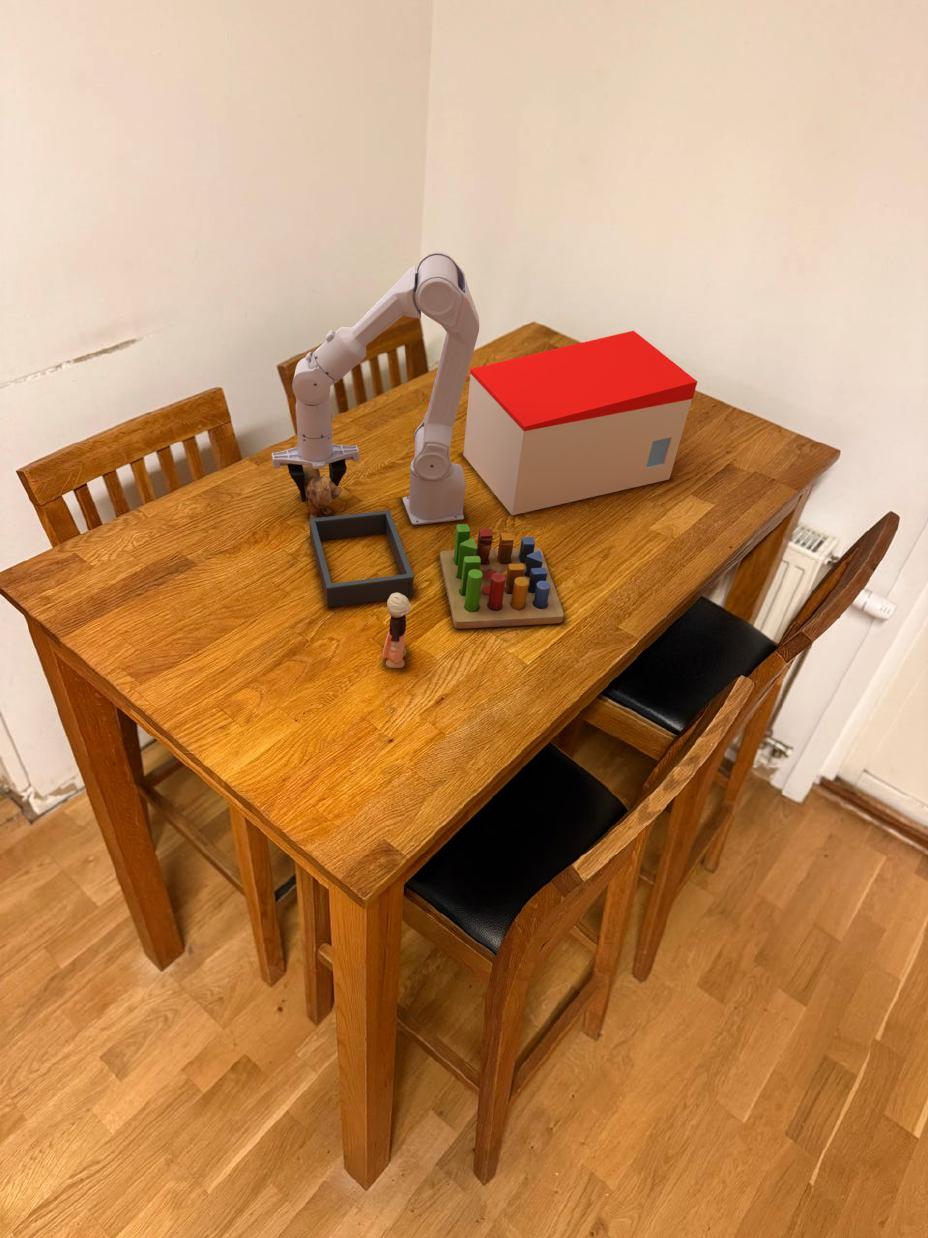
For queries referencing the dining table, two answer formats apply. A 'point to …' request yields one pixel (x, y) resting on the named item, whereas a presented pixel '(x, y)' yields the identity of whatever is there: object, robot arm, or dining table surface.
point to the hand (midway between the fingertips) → (317, 496)
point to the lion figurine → (319, 490)
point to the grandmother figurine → (396, 630)
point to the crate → (368, 587)
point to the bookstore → (576, 421)
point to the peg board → (498, 582)
